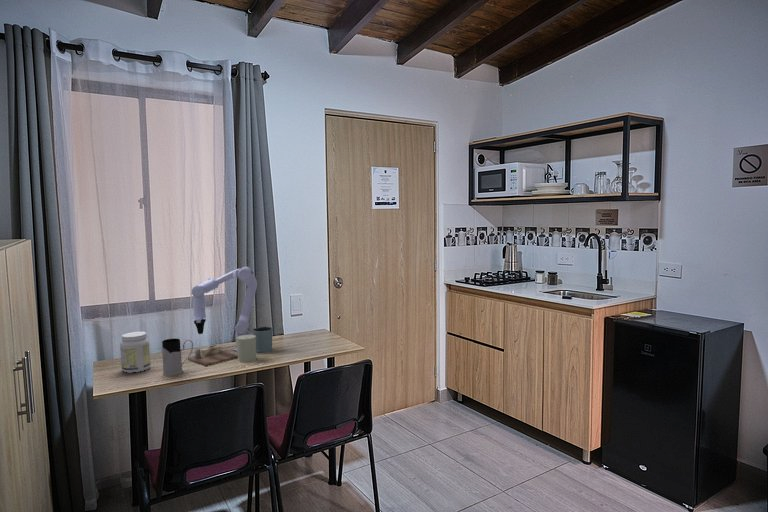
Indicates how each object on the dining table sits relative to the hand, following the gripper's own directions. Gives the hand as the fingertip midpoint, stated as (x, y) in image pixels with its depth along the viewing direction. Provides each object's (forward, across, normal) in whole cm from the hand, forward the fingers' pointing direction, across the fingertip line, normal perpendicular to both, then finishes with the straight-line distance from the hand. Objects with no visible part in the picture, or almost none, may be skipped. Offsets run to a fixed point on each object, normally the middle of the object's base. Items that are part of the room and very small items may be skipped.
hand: (200, 333), depth 257 cm
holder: (+10, +30, -7) cm, 33 cm away
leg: (+9, +9, +6) cm, 14 cm away
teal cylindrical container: (+10, +8, +32) cm, 34 cm away
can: (+10, +21, +23) cm, 33 cm away
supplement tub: (+10, +21, -27) cm, 35 cm away
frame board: (+10, +14, +7) cm, 19 cm away
